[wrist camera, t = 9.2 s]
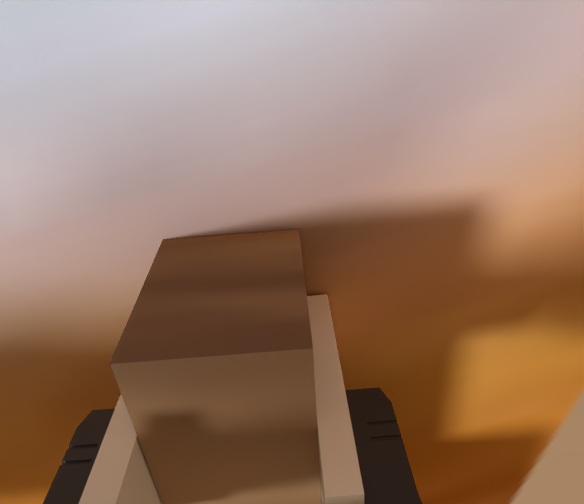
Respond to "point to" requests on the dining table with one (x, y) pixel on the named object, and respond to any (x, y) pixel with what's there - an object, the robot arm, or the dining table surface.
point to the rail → (224, 371)
